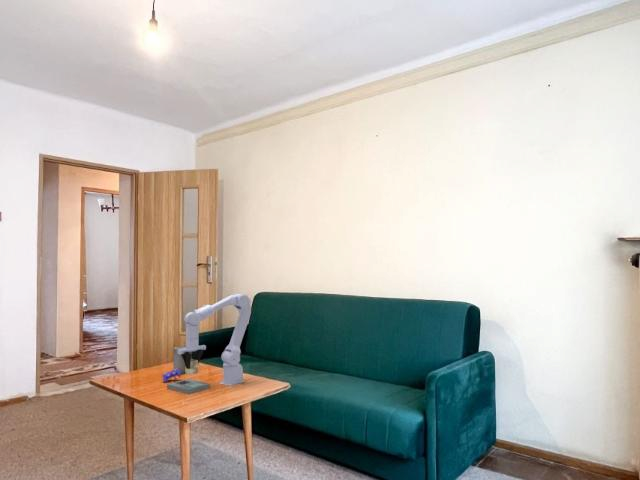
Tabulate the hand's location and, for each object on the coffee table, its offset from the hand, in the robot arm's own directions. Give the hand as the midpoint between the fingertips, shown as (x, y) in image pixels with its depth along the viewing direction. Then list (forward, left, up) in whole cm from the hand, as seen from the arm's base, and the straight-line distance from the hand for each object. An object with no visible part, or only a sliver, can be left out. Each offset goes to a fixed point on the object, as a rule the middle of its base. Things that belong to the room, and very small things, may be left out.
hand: (191, 367), depth 199 cm
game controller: (-4, -21, -11) cm, 24 cm away
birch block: (0, 0, -3) cm, 3 cm away
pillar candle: (-19, -32, -11) cm, 39 cm away
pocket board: (0, -2, -10) cm, 11 cm away
